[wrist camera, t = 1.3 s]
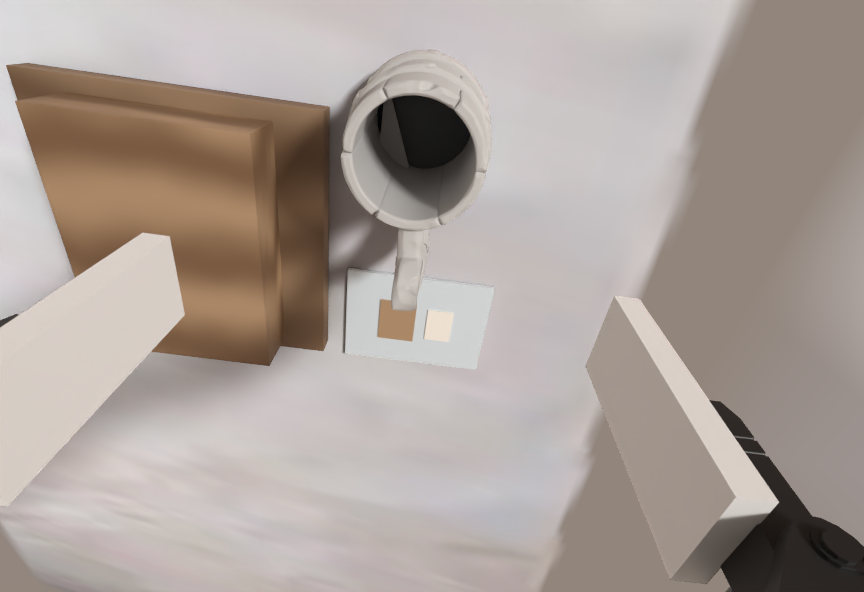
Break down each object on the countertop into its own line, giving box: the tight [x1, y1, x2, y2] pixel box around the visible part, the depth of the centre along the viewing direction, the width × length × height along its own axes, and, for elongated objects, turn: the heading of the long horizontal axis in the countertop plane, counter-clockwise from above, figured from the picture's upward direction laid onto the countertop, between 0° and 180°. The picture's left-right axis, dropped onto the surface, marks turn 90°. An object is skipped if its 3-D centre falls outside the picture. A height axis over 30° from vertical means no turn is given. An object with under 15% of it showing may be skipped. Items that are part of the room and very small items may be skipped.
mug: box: [341, 50, 492, 311], centre depth 23 cm, size 8×12×12 cm, turn 176°
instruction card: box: [345, 268, 495, 370], centre depth 35 cm, size 8×11×1 cm
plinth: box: [6, 63, 330, 366], centre depth 29 cm, size 18×18×5 cm
